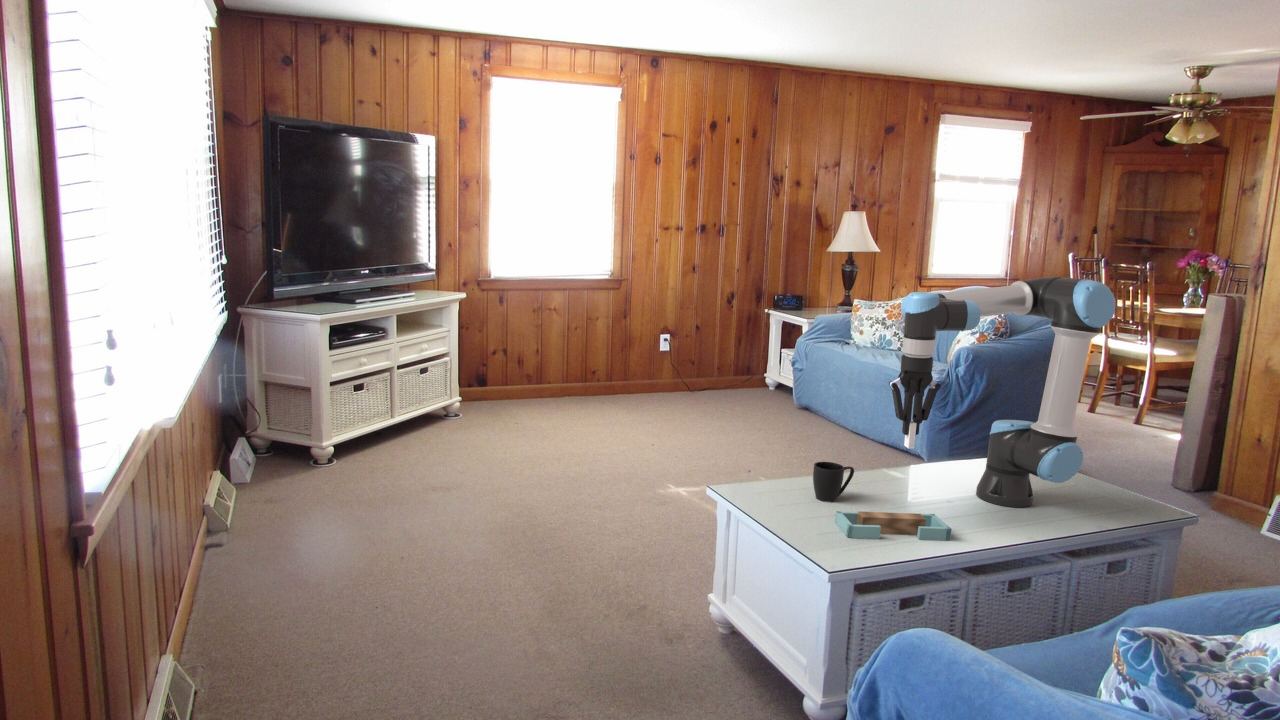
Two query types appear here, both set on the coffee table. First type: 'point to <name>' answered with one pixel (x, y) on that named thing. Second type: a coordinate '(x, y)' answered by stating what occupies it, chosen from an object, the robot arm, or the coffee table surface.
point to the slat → (893, 522)
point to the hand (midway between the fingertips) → (909, 446)
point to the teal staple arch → (933, 529)
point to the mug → (829, 480)
